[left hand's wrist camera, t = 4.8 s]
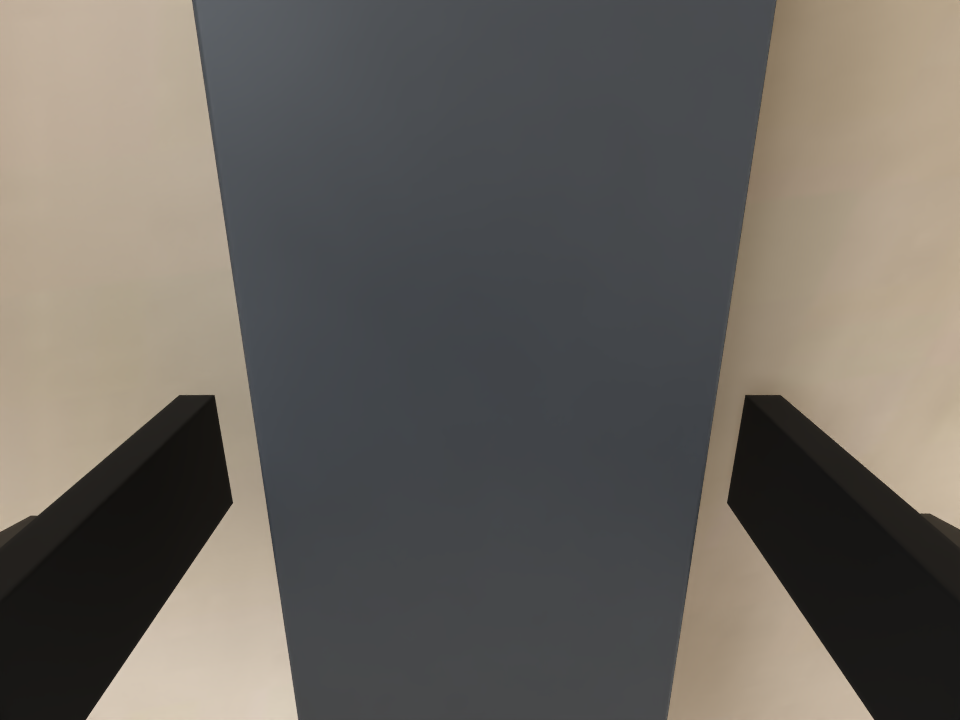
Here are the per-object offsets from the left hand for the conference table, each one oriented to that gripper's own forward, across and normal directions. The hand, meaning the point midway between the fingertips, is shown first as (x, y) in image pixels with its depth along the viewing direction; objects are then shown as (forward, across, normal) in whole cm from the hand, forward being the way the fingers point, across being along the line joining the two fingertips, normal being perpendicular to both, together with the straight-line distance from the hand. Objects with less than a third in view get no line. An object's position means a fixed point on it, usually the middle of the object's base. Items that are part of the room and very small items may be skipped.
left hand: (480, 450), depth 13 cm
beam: (+2, 0, -36) cm, 36 cm away
